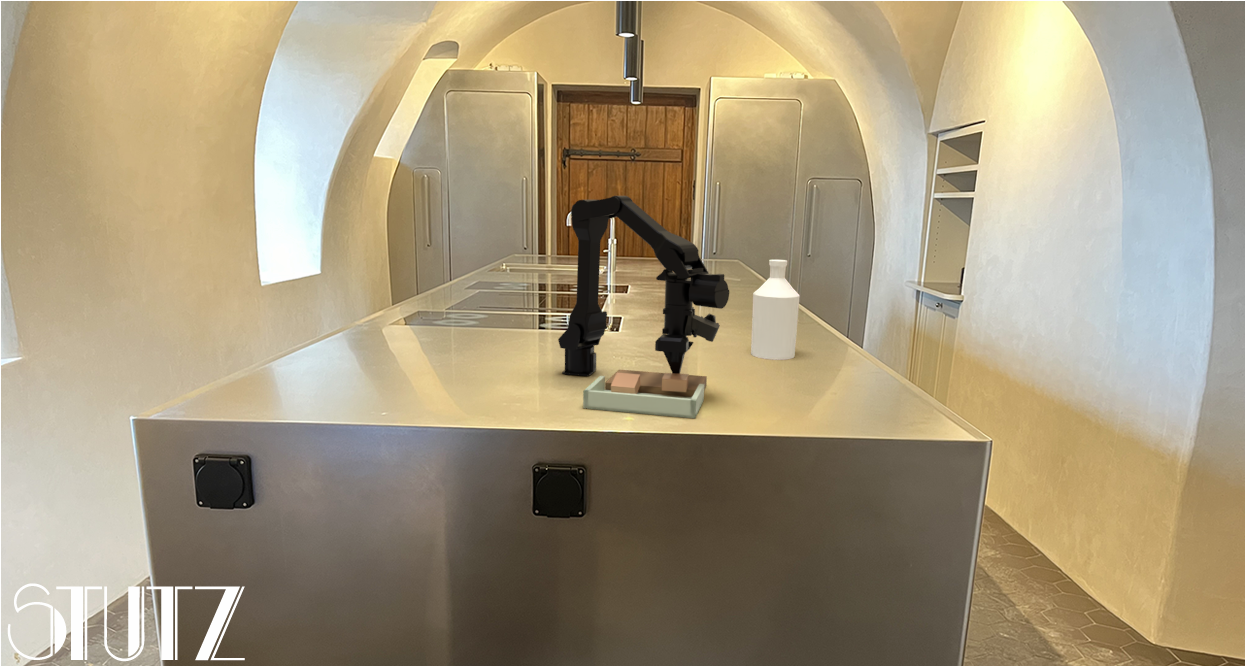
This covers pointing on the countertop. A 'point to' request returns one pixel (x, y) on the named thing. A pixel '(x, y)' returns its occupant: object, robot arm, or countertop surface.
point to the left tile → (626, 383)
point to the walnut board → (660, 383)
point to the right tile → (675, 382)
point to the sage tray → (642, 401)
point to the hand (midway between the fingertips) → (676, 376)
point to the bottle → (775, 316)
